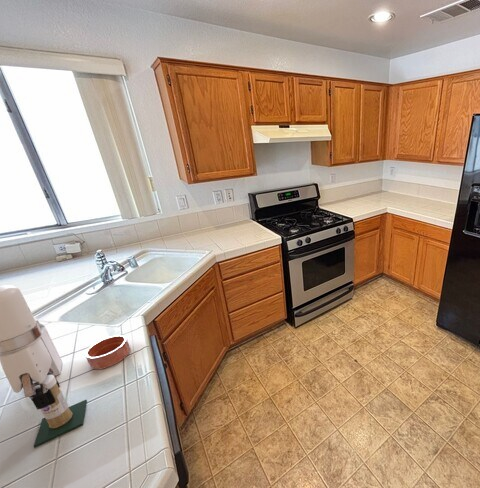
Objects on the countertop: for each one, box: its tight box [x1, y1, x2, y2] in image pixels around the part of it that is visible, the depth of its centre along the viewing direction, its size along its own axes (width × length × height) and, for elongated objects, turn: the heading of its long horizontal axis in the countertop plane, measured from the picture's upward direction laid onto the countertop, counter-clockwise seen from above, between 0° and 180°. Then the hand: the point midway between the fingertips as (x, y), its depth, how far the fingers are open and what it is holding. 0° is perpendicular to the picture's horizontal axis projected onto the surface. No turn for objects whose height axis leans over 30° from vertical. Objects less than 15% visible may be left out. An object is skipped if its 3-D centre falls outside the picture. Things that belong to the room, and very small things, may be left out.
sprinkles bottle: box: [33, 375, 73, 428], centre depth 66 cm, size 5×5×14 cm
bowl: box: [84, 334, 131, 370], centre depth 90 cm, size 11×11×5 cm
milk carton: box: [35, 319, 63, 377], centre depth 82 cm, size 7×7×19 cm
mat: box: [33, 399, 88, 449], centre depth 69 cm, size 9×9×1 cm
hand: (49, 397), depth 66 cm, fingers open, 4 cm apart
